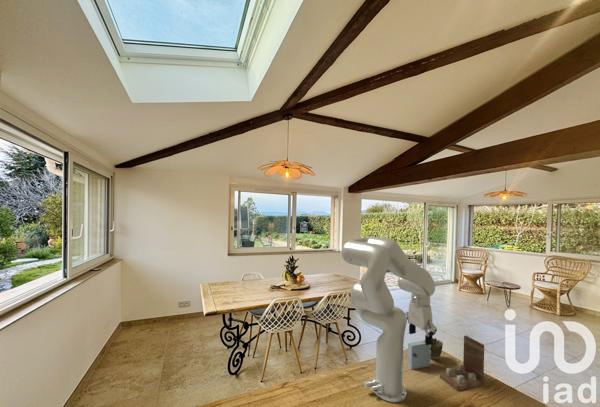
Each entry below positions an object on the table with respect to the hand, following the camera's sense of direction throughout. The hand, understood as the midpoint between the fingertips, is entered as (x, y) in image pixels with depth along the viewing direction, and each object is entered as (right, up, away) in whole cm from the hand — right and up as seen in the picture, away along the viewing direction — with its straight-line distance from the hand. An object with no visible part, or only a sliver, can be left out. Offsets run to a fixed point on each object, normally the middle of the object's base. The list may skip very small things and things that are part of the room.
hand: (420, 338), depth 117 cm
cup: (+9, -12, +6) cm, 16 cm away
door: (-1, -12, -1) cm, 12 cm away
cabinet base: (+12, -12, -10) cm, 19 cm away
